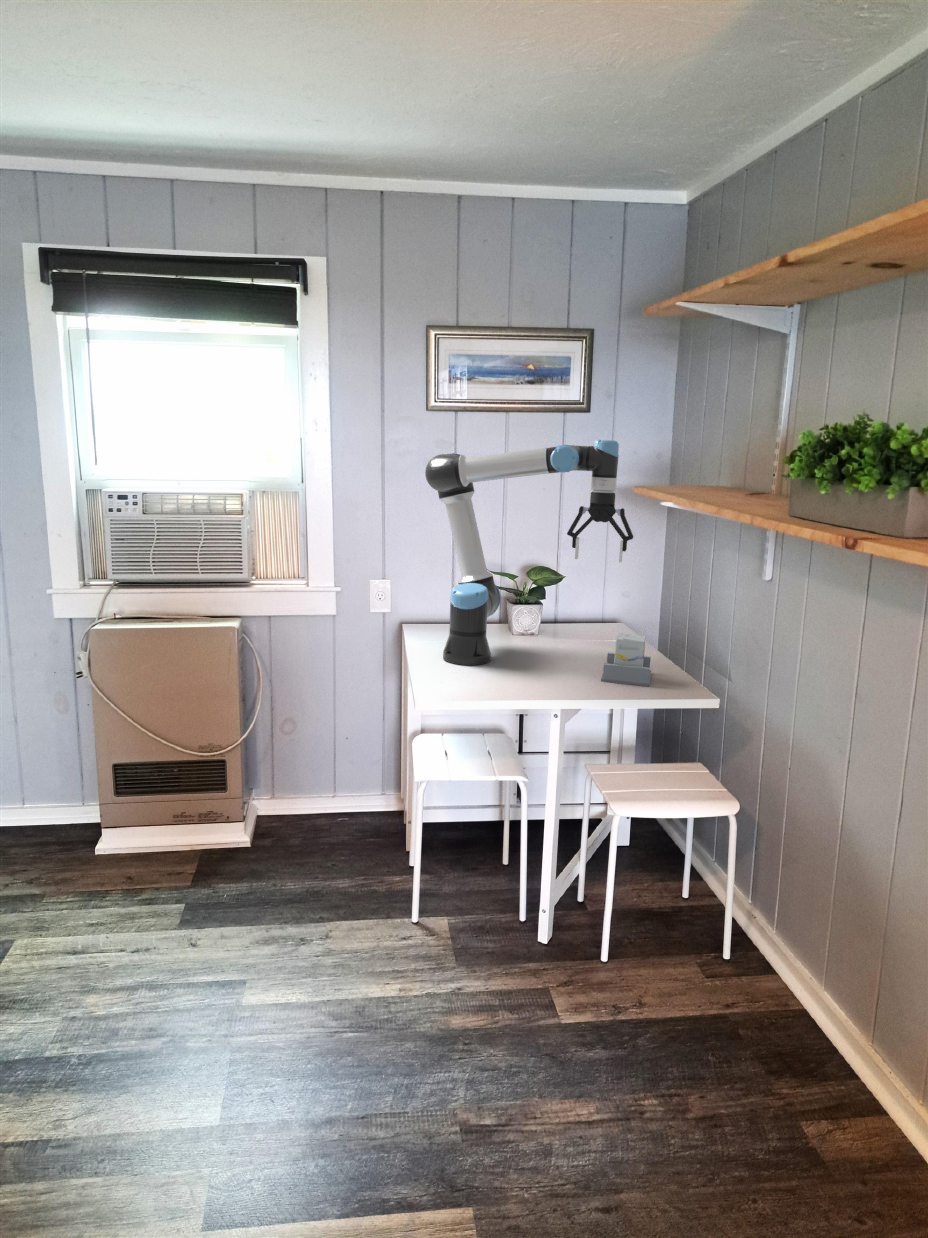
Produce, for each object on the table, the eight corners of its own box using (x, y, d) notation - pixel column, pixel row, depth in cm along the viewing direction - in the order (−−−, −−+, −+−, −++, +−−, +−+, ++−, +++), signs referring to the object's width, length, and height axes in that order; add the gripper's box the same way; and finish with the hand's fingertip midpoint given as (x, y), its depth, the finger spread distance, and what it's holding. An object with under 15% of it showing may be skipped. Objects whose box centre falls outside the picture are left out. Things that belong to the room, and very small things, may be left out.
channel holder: (600, 681, 247) (602, 664, 246) (605, 668, 262) (606, 652, 261) (649, 686, 244) (650, 669, 243) (650, 672, 258) (652, 656, 257)
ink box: (641, 679, 248) (645, 641, 245) (612, 677, 250) (615, 638, 247) (642, 672, 256) (646, 634, 253) (614, 669, 258) (617, 632, 255)
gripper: (561, 490, 257) (556, 558, 261) (644, 494, 251) (638, 564, 256) (564, 488, 264) (560, 555, 268) (645, 492, 258) (639, 561, 263)
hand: (598, 560), depth 262 cm, fingers open, 13 cm apart
